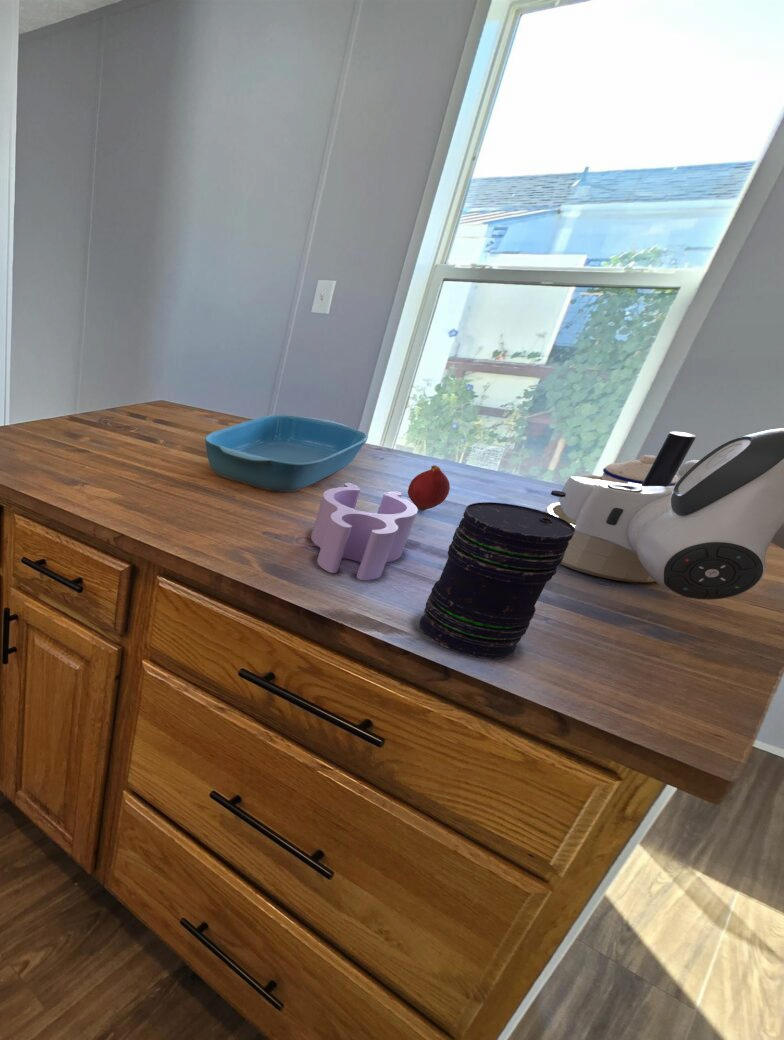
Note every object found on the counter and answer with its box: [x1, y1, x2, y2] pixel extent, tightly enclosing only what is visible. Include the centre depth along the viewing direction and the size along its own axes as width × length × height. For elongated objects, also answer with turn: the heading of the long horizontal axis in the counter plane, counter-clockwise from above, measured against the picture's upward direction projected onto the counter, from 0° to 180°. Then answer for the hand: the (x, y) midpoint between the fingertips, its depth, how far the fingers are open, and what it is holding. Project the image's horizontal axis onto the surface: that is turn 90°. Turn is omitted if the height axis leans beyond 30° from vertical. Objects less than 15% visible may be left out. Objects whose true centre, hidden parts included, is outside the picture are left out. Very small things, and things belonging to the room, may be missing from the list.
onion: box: [407, 464, 451, 512], centre depth 111 cm, size 6×6×8 cm
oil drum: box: [418, 490, 576, 660], centre depth 73 cm, size 10×10×18 cm
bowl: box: [544, 502, 656, 583], centre depth 95 cm, size 16×16×6 cm
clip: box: [310, 482, 419, 581], centre depth 96 cm, size 20×12×7 cm, turn 148°
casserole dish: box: [204, 414, 369, 493], centre depth 129 cm, size 37×22×7 cm, turn 132°
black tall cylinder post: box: [642, 431, 697, 487], centre depth 90 cm, size 6×6×18 cm
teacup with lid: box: [580, 454, 680, 486], centre depth 106 cm, size 12×9×12 cm
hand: (649, 491), depth 90 cm, fingers closed on black tall cylinder post, 2 cm apart
